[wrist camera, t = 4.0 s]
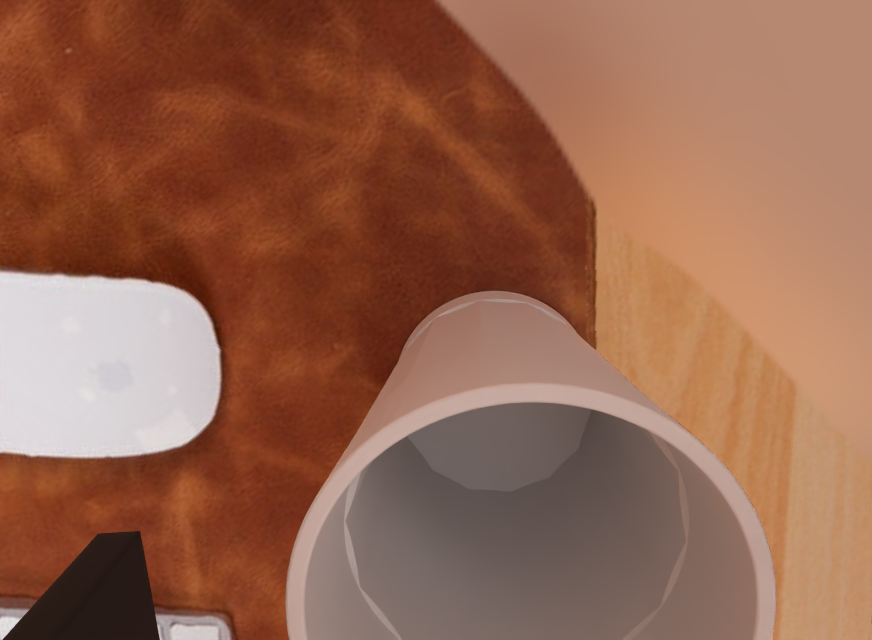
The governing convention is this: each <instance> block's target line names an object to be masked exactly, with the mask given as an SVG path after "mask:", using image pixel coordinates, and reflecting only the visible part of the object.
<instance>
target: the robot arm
mask: <svg viewBox="0 0 872 640" xmlns="http://www.w3.org/2000/svg"><path fill="white" fill-rule="evenodd" d="M3 640H160V638H159V633H158V627H157V622H156V616H155V611H154V605H153V600H152V594H151V589H150V583H149V578H148V572H147V567H146V561H145V556H144V550H143V545H142V539H141V534H140V531H134V532H118V533H102V534H98V535H97V536H96V537H95V538H94V539H93V540H92V541H91V542H90V544H89V545H88V546H87V547H86V548H85V549H84V550H83V551H82V552H81V553H80V555H79V556H78V557H77V558H76V559H75V560H74V561H73V562H72V563H71V565H70V566H69V567H68V568H67V569H66V570H65V571H64V572H63V573H62V574H61V576H60V577H59V578H58V579H57V580H56V581H55V582H54V583H53V584H52V586H51V587H50V588H49V589H48V590H47V591H46V592H45V593H44V594H43V595H42V597H41V598H40V599H39V600H38V601H37V602H36V603H35V604H34V605H33V607H32V608H31V609H30V610H29V611H28V612H27V613H26V614H25V615H24V616H23V618H22V619H21V620H20V621H19V622H18V623H17V624H16V625H15V626H14V628H13V629H12V630H11V631H10V632H9V633H8V634H7V635H6V636H5V637H4V639H3Z"/></svg>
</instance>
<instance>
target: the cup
mask: <svg viewBox="0 0 872 640" xmlns="http://www.w3.org/2000/svg"><path fill="white" fill-rule="evenodd" d="M775 613H776V583H775V574H774V567H773V561H772V557H771V552H770V548H769V545H768V541H767V538H766V535H765V532H764V530H763V527H762V525H761V522H760V520H759V517H758V515H757V513H756V511H755V509H754V507H753V505H752V504H751V502H750V500H749V498H748V497H747V495H746V493H745V492H744V490H743V489H742V487H741V486H740V484H739V483H738V481H737V480H736V479H735V477H734V476H733V475H732V473H731V472H730V471H729V470H728V468H727V467H726V466H725V465H724V464H723V463H722V462H721V461H720V460H719V458H718V457H717V456H716V455H715V454H714V453H713V452H712V451H711V450H710V449H708V448H707V447H706V446H705V445H704V444H703V443H702V442H701V441H699V440H698V439H697V438H696V437H695V436H693V435H692V434H691V433H690V432H689V431H687V430H686V429H685V428H684V427H683V426H681V425H680V424H679V423H678V422H677V421H676V420H674V419H673V418H672V417H671V416H670V415H668V414H667V413H666V412H665V411H664V410H662V409H661V408H660V407H659V406H658V405H657V404H655V403H654V402H653V401H652V400H651V399H649V398H648V397H647V396H646V395H645V394H643V393H642V392H641V391H640V390H639V389H638V388H637V387H636V386H635V385H633V384H632V383H631V382H630V381H629V380H628V379H627V378H626V377H625V376H623V375H622V374H621V373H620V372H619V371H618V370H617V369H616V368H615V367H613V366H612V365H611V364H610V363H609V362H608V361H607V360H606V359H605V358H604V357H602V356H601V355H600V354H599V353H598V352H597V351H596V350H595V349H594V348H592V347H591V346H590V345H589V344H588V343H587V342H586V341H585V340H584V339H582V338H581V337H580V336H579V335H578V334H577V332H576V331H575V329H574V328H573V327H572V326H571V325H570V323H569V322H568V321H567V320H566V319H565V318H564V317H563V316H561V315H560V314H559V313H558V312H557V311H555V310H554V309H552V308H551V307H549V306H548V305H546V304H544V303H542V302H540V301H538V300H536V299H534V298H531V297H528V296H525V295H522V294H518V293H513V292H506V291H483V292H477V293H472V294H468V295H464V296H461V297H458V298H456V299H453V300H451V301H449V302H447V303H445V304H443V305H442V306H440V307H439V308H437V309H436V310H434V311H433V312H432V313H430V314H429V315H428V316H427V317H426V318H425V319H424V320H422V322H421V323H420V324H419V325H418V326H417V327H416V328H415V330H414V331H413V332H412V334H411V335H410V337H409V338H408V340H407V342H406V343H405V345H404V347H403V350H402V352H401V355H400V357H399V361H398V363H397V364H396V366H395V368H394V370H393V371H392V373H391V375H390V376H389V378H388V380H387V382H386V383H385V385H384V387H383V388H382V390H381V392H380V393H379V395H378V397H377V399H376V400H375V402H374V404H373V405H372V407H371V409H370V410H369V412H368V414H367V416H366V417H365V419H364V421H363V422H362V424H361V426H360V428H359V429H358V431H357V433H356V434H355V436H354V437H353V439H352V441H351V442H350V444H349V445H348V447H347V448H346V450H345V452H344V453H343V455H342V456H341V458H340V459H339V461H338V463H337V464H336V466H335V467H334V469H333V470H332V472H331V474H330V475H329V477H328V478H327V480H326V481H325V483H324V485H323V486H322V488H321V489H320V491H319V493H318V494H317V496H316V497H315V499H314V501H313V502H312V504H311V506H310V508H309V510H308V512H307V514H306V516H305V518H304V520H303V522H302V524H301V527H300V529H299V532H298V535H297V538H296V540H295V544H294V547H293V551H292V554H291V559H290V563H289V568H288V575H287V583H286V621H287V629H288V636H289V640H772V636H773V630H774V623H775Z"/></svg>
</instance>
